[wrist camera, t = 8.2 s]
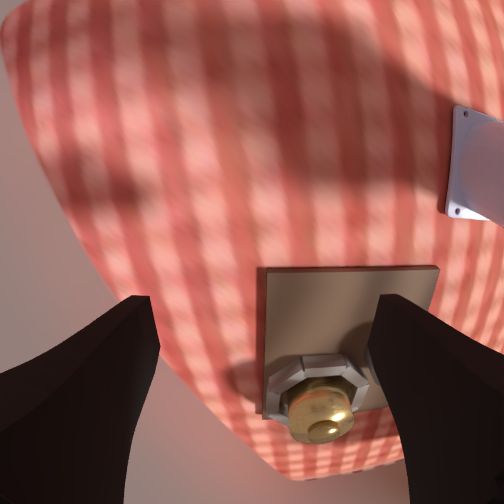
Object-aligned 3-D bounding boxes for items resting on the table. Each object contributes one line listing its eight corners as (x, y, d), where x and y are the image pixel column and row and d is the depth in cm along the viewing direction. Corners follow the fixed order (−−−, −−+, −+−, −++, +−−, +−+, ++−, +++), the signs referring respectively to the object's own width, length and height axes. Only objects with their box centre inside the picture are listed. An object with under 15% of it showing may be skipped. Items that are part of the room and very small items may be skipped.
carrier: (436, 265, 19) (461, 289, 16) (385, 402, 25) (395, 428, 22) (266, 268, 19) (269, 298, 16) (262, 414, 25) (263, 444, 22)
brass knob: (341, 362, 22) (356, 411, 17) (344, 396, 24) (356, 441, 19) (280, 376, 22) (285, 427, 18) (291, 409, 24) (296, 455, 19)
